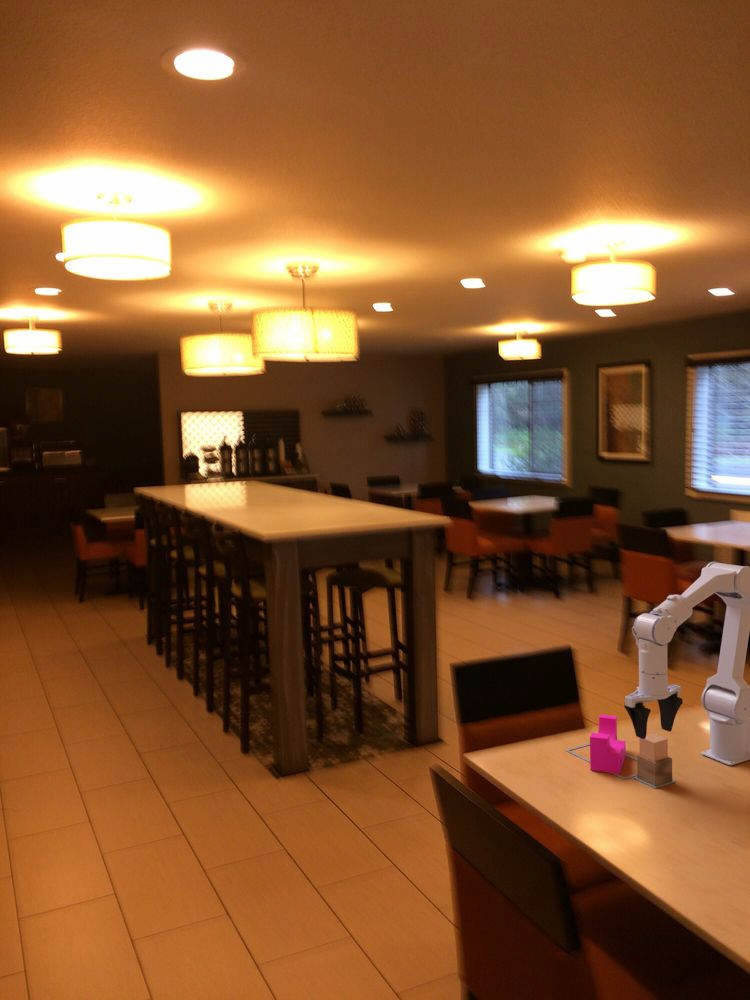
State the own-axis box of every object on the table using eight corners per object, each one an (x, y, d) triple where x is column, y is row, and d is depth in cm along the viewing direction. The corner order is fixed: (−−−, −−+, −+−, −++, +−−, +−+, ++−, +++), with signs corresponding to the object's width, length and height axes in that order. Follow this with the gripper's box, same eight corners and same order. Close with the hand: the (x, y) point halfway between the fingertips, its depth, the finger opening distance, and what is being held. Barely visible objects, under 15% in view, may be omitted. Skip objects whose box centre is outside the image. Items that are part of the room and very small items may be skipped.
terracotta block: (667, 757, 167) (667, 739, 167) (654, 761, 165) (654, 742, 165) (652, 751, 170) (652, 733, 170) (639, 755, 169) (639, 737, 168)
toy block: (619, 773, 171) (619, 740, 171) (590, 769, 174) (589, 736, 173) (628, 748, 185) (627, 717, 184) (600, 745, 188) (600, 714, 187)
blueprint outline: (597, 741, 190) (597, 741, 190) (682, 779, 168) (682, 778, 168) (565, 750, 185) (565, 749, 185) (648, 790, 163) (648, 790, 163)
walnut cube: (654, 772, 171) (653, 750, 171) (672, 781, 167) (672, 758, 166) (637, 777, 169) (636, 755, 169) (655, 786, 164) (654, 763, 164)
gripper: (662, 661, 173) (663, 721, 174) (613, 672, 166) (614, 734, 167) (689, 668, 167) (689, 731, 168) (639, 680, 160) (639, 745, 161)
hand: (653, 733), depth 167 cm, fingers open, 7 cm apart
